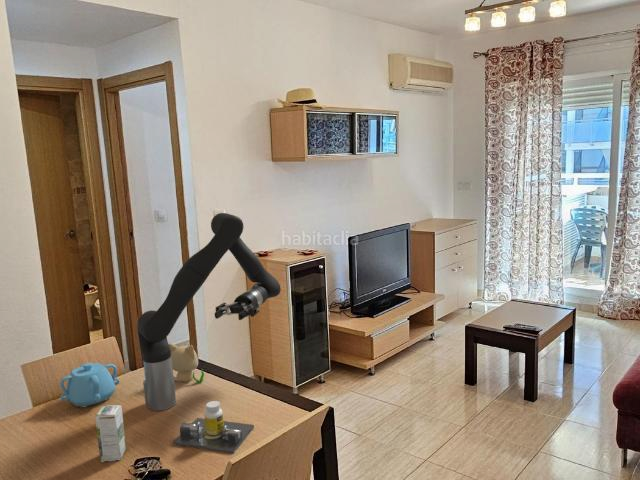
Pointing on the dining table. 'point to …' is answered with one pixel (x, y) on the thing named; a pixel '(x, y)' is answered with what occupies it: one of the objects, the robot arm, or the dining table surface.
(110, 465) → the dining table surface
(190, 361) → the kitten
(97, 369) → the decorative pot
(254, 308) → the robot arm
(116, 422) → the syrup box
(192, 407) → the dining table surface
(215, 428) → the supplement bottle
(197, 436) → the base
